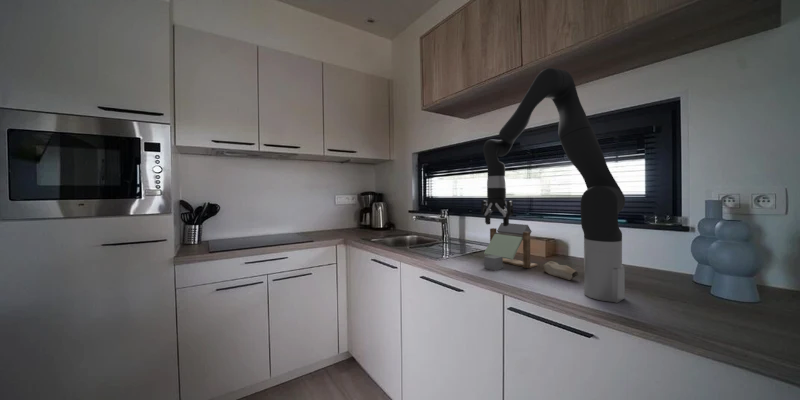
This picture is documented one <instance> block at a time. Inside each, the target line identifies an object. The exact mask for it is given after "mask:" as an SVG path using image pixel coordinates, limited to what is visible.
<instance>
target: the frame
mask: <svg viewBox="0 0 800 400" xmlns="http://www.w3.org/2000/svg"><path fill="white" fill-rule="evenodd" d="M494 234H501V235H509V236H517V237H523V240H522V252H523V253H522V255H523V256H522V260H519V259H514V258H513V260H511V259H506V258H503V264H509V265H514V266H519V267H522V268H524V269H531V268H534V267H537V266H538V263H534V262H531V234H530V232H523V235H515V234H507V233H498V232H497V228H496V227H495V228H494V227H493V228H492V227H491V228H489V242H490V241H491V239H492V238H493V236H494Z"/></svg>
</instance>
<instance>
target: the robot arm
mask: <svg viewBox="0 0 800 400" xmlns="http://www.w3.org/2000/svg"><path fill="white" fill-rule="evenodd" d="M545 98H546V99H551V100H552V102H553V103H554V105H555V106H554V107H556V109H557V113H558V116H559V117H558V126H557V127H558V130H557V133H558V135H557V136H558V138H559V141H560V144H561V146H562V148H563V149H562V150H564V152H565V154H566V157H567V158H568V159H569V161H570V162H571V163H572V165H573V166H574V167H575V169H576V170H577V172H579V175H581V177H582V179H583V181H584V184H585V186H586V190H585V191H584V192H583V193H582V196H581V198H580V223H581V225H580V226H581V229H582V232H583V290H584V291H583V292H584V293H583V294H584V295H585V296H586V297H588V298H591V299H594V300H598V301H603V302H610V303H611V302H612V303H615V304H616V303H617V304H618V303H620V302H621V301H623V300H625V298H626V295H625V294H626V293H625V292H626V291H625V285H626V284H625V283H626V282H625V277H626V275H625V273H626V272H625V270H626V269H625V267H626V266H625V265H623V232H622V230H621V229H620V226H619V213H621V212H622V211H623V209H624V208H625V205H626V197H625V194H624V193H623V191H622V189H621V188H620V186H619V184H618V183H617V181H616V179H615V177H614V176H613V175H612V173H611V171H610V169H609V167H608V164H607V161H606V159H605V156H604V153H603V150H602V148H601V146H600V143H599V141H598V138H597V136H596V133H595V131H594V129H593V127H592V125H591V122H590V121H589V119H588V116H587V115H586V111H585V109H584V107H583V105H582V104H581V101H580V98H579V94H578V91H577V87H576V84H575V80H574V78H573V75H572V74H571V73H570V72H568V71H567V70H564V69H560V68H555V67H546V68H545V69H542V70H541V71H540V72H539V73H538V74H537V75H536V77H535V78H534V80H533V82H532V83H531V85H530V86H529V88H528V90H527V92H525V95H524V96H523V98H522V100H521V102H520V103H519V105H518V106H517V108H516V109H515V111H514V112H513V114H512V115H511V117H510V118H509V119H508V120H507V121H506V123H505V124H504V125H503V126H502V128H501V129H500V131H498V135H499V137H500V139H487V140H486V141H485V142H484V145H483V147H482V148H483V156H484V160H485V163H486V166H487V167H486V168H487V181H486V187H487V189H486V190H487V191H486V192H487V193H486V197H487V200H481V203H480V204H481V207H480V214H481V215H484V218H485V219H484V223H485V225H487V226H488V225H491V215H492V213H493V212H495V211H496V212H499V213H501V215H502V216H503V217H502V218H503V219H502V221H503V222H502V223H503V226H508V224H509V223H510V217H511V216H514V215H515V213H514V201H513V200H506V198H507V181H506V164H505V163H504V162H502V161H500V159H499V158H501V157H504V156H506V155H507V154H509V152H510V150H511V149H512V147H513V144H514V143H515V141H516V139H518V137H519V136H520V135H521V134H522V133H523V132H524V131H525V129H526V128H527V127H528V124H529V123H530V120H531V117H532V114H533V112H534V111H535V108H536V107H537V106H538V105H539V104H540V103H541V102H542V101H544V100H545Z"/></svg>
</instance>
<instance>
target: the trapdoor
mask: <svg viewBox="0 0 800 400" xmlns="http://www.w3.org/2000/svg"><path fill="white" fill-rule="evenodd" d="M496 232H498V233H507V234H515V235H523V232H530V235H531V234H532V230H531V228H530V226H529V225H528V224H523V223H522V224H520V223H510V222H509V224H508V226H503V222H500V224H499V226H498V228H497V229H496ZM522 243H523V237H517V236H509V235H501V234H494V236H493V238H492V239H491V241H490V240H489V243H488V245H487V246H486V249H485V251H484V252H483V254H484V256H489V255H496V256H502V257H503V258H506V259H511V260H513V259H514V258H515V256H516V254H517V252H518V250H519V249H520V246H521V244H522Z"/></svg>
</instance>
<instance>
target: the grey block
mask: <svg viewBox="0 0 800 400" xmlns="http://www.w3.org/2000/svg"><path fill="white" fill-rule="evenodd" d="M483 258H484V260H483V261H484V267H483V268H484V269H486V270H492V271H498V270H501V269H503V268H504V266H503V265H504V263H503V257H502V256H496V255H484V257H483Z"/></svg>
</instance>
